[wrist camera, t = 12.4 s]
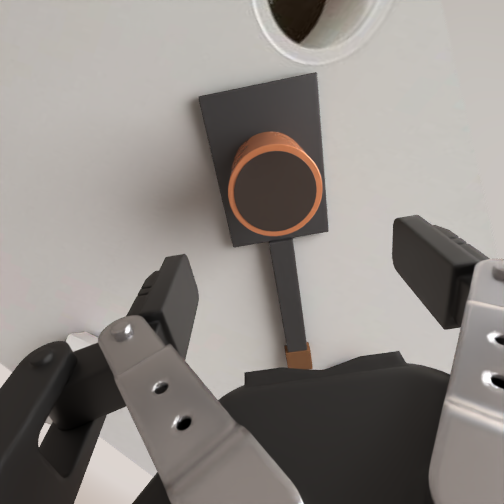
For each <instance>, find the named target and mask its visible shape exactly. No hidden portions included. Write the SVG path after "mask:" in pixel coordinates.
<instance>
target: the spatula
mask: <svg viewBox="0 0 504 504" xmlns="http://www.w3.org/2000/svg"><path fill="white" fill-rule="evenodd" d="M199 102H200V106H201V110H202V115H203V119H204V123H205V128H206V132H207V136H208V140H209V145H210V149H211V153H212V157H213V162H214V166H215V170H216V175H217V179H218V183H219V187H220V192H221V196H222V200H223V204H224V209H225V213H226V217H227V222H228V226H229V230H230V234H231V239H232V243H233V247H239V246H245V245H251V244H257V243H263V242H269V245H270V251H271V257H272V263H273V268H274V274H275V280H276V286H277V291H278V297H279V303H280V309H281V315H282V320H283V326H284V332H285V338H286V343H287V345H285V353H286V359H287V364H288V368H295V369H312V360H311V353H310V347H309V343H308V342H306V336H305V328H304V321H303V313H302V306H301V298H300V291H299V283H298V276H297V268H296V261H295V253H294V246H293V239H292V238H293V237H299V236H305V235H311V234H317V233H323V232H328V218H327V204H326V190H325V177H324V163H323V149H322V136H321V122H320V108H319V95H318V81H317V73H311V74H306V75H301V76H296V77H292V78H287V79H282V80H277V81H272V82H267V83H262V84H258V85H253V86H248V87H243V88H238V89H233V90H228V91H224V92H219V93H214V94H209V95H204V96H199ZM263 132H279V133H282V134H285V135H287V136H289V137H290V138H292V139H293V140H294V141H295V142H296V143H297V144H298V145H299V146H300V147H301V148H302V149H303V150H304V151H305V152H306V154H307V155H308V156H309V157H310V158H311V159H312V160H313V161H314V163H315V164H316V166H317V168H318V170H319V172H320V175H321V179H322V198H321V202H320V204H319V207H318V209H317V211H316V213H315V214H314V216H313V217H312V218H311V219H310V220H309V222H308V223H306V224H305V225H304V226H303V227H301V228H300V229H298V230H296V231H294V232H292V233H289V234H286V235H282V236H265V235H261V234H258V233H255V232H253V231H251V230H249V229H248V228H246V227H245V226H244V225H243V224H242V223H240V222H239V220H238V219H237V218H236V216H235V215H234V213H233V211H232V209H231V206H230V203H229V198H228V185H229V180H230V175H231V171H232V166H233V162H234V158H235V155H236V153H237V151H238V150H239V148H240V147H241V145H242V144H243V143H244V142H245V141H246V140H248V139H249V138H251V137H252V136H254V135H256V134H259V133H263Z"/></svg>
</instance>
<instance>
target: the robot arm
mask: <svg viewBox="0 0 504 504" xmlns="http://www.w3.org/2000/svg"><path fill="white" fill-rule="evenodd" d="M392 259H393V264H394V267H395V269H396V271H397V272H398V273H399V275H400V276H401V277H402V278H403V280H404V281H405V282H406V283H407V285H408V286H409V287H410V288H411V289H412V291H413V292H414V293H415V294H416V296H417V297H418V298H419V299H420V300H421V302H422V303H423V304H424V305H425V307H426V308H427V309H428V310H429V311H430V313H431V314H432V315H433V316H434V318H435V319H436V320H437V321H438V322H439V324H440V325H441V326H442V327H443V329H444V330H445V329H452V328H459V327H461V329H460V333H459V338H458V343H457V347H456V352H455V356H454V361H453V365H452V370H451V374H450V375H449V374H447V373H445V372H442V371H439V370H436V369H434V368H430V367H426V366H422V365H416V364H409V363H406V362H405V361H404V359H403V357H402V355H401V354H400V352H399V351H396V352H389V353H382V354H375V355H367V356H360V357H358V358H355V359H352V360H350V361H347V362H344V363H342V364H339V365H336V366H334V367H331V368H328V369H325V370H309V369H295V368H274V369H267V370H260V371H253V372H246V373H245V385H244V386H241V387H239V388H237V389H235V390H233V391H231V392H229V393H228V394H226V395H225V396H223V397H222V398H220V399H219V400H217V399H216V398H215V396H214V395H213V394H212V393H211V392H210V390H209V389H208V388H207V387H206V386H205V384H204V383H203V382H202V381H201V380H200V378H199V377H198V376H197V375H196V374H195V372H194V371H193V370H192V369H191V368H190V366H189V365H188V364H187V363H186V362H185V359H186V354H187V350H188V345H189V341H190V337H191V332H192V328H193V323H194V319H195V315H196V310H197V306H198V301H199V295H198V289H197V285H196V282H195V279H194V276H193V273H192V269H191V266H190V263H189V260H188V258H187V256H186V255H185V254H181V255H176V256H170V257H166V258H165V260H164V262H163V264H162V266H161V268H160V270H159V271H155V272H153V273H152V274H151V275H150V276H149V277H148V278H147V279H146V280H145V282H144V284H143V286H142V289H140V291H139V293H138V296H137V297H136V299H135V301H134V303H133V304H132V306H131V308H130V310H129V312H128V314H127V316H126V317H123V318H120V319H118V320H116V321H114V322H112V323H111V324H110V325H108V326H107V327H106V328H105V329H104V330H103V331H102V332H101V334H100V335H99V338H98V343H95V344H92V345H90V346H87V347H84V348H82V349H79V350H76V351H74V352H73V351H72V349H71V347H70V346H69V344H68V343H67V342H64V341H56V342H52V343H48V344H46V345H44V346H41V347H39V348H38V349H36V350H34V351H33V352H31V353H30V354H29V355H27V356H26V357H25V358H24V359H23V360H22V361H21V362H20V363H19V365H18V366H17V367H16V369H15V370H14V371H13V373H12V374H11V375H10V377H9V378H8V379H7V380H6V382H5V383H4V384H3V386H2V387H1V388H0V504H74V501H75V499H76V496H77V493H78V491H79V488H80V485H81V483H82V480H83V477H84V474H85V472H86V469H87V466H88V464H89V461H90V458H91V456H92V453H93V450H94V448H95V445H96V442H97V439H98V437H99V434H100V431H101V429H102V426H103V423H104V421H105V418H106V415H107V414H109V413H111V412H114V411H116V410H118V409H121V408H123V407H125V406H127V408H128V410H129V412H130V414H131V416H132V418H133V421H134V423H135V425H136V427H137V429H138V431H139V433H140V435H141V437H142V440H143V442H144V444H145V446H146V448H147V450H148V452H149V454H150V457H151V459H152V461H153V463H154V465H155V467H156V469H157V471H158V472H157V473H156V475H155V476H154V477H153V478H152V480H151V481H150V482H149V483H148V485H147V486H146V487H145V488H144V490H143V491H142V492H141V493H140V495H139V496H138V497H137V499H136V500H135V501H134V502H133V503H132V504H504V259H490V258H488V257H487V256H485V255H484V254H483V253H481V252H480V251H478V250H477V249H475V248H474V247H473V246H471V245H470V244H467V243H466V241H464V240H463V239H461V238H458V236H457V235H456V234H454V233H453V232H451V231H450V230H448V229H445V228H442V227H439V226H436V225H431V224H430V223H428V222H427V221H426V220H424V219H423V218H422V217H420V216H419V215H413V216H407V217H402V218H396V219H395V220H394V224H393V247H392ZM48 416H49V417H50V418H51V420H52V421H53V422H52V424H51V426H50V428H49V430H48V432H47V434H46V435H45V437H44V439H43V441H42V443H41V445H40V447H38V438H39V434H40V431H41V429H42V427H43V425H44V423H45V421H46V420H47V418H48Z"/></svg>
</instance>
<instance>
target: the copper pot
mask: <svg viewBox="0 0 504 504" xmlns="http://www.w3.org/2000/svg"><path fill="white" fill-rule="evenodd" d="M228 198H229V203H230V206H231V209H232V211H233V213H234V215H235V216H236V218H237V219H238V220H239V222H240V223H242V224H243V225H244V226H245V227H246V228H248V229H249V230H251V231H253V232H255V233H258V234H261V235H265V236H282V235H286V234H289V233H292V232H294V231H296V230H298V229H300V228H301V227H303V226H304V225H305V224H306V223H308V222H309V220H310V219H311V218H312V217H313V216H314V214H315V213H316V211H317V209H318V207H319V204H320V202H321V198H322V179H321V175H320V172H319V170H318V168H317V166H316V164H315V163H314V161H313V160H312V159H311V158H310V157H309V156H308V155H307V154H306V152H305V151H304V150H303V149H302V148H301V147H300V146H299V145H298V144H297V143H296V142H295V141H294V140H293V139H292V138H290V137H289V136H287V135H285V134H282V133H279V132H263V133H259V134H256V135H254V136H252V137H251V138H249V139H248V140H246V141H245V142H244V143H243V144H242V145H241V147H240V148H239V150H238V151H237V153H236V155H235V158H234V162H233V166H232V171H231V175H230V180H229V185H228Z"/></svg>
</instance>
